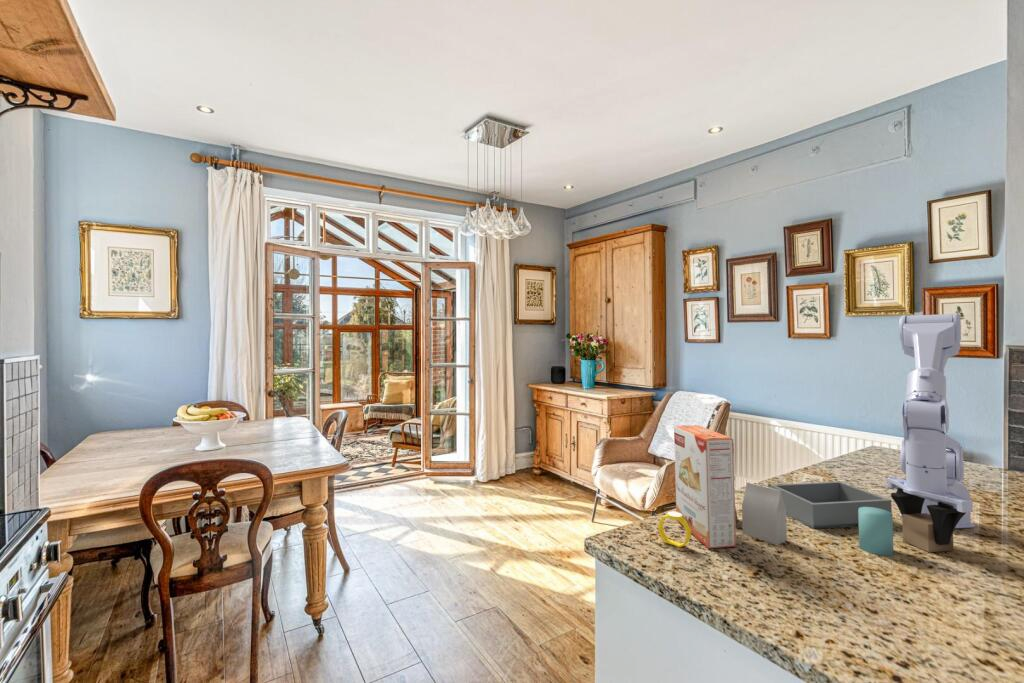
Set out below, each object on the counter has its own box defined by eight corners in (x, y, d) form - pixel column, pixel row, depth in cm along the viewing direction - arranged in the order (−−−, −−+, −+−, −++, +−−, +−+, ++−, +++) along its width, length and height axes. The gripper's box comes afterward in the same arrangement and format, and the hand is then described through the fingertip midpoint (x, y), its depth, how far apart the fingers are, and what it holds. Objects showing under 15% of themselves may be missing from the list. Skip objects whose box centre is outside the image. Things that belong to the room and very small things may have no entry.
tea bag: (776, 545, 89) (775, 492, 89) (742, 533, 95) (741, 484, 95) (786, 540, 91) (785, 489, 91) (752, 529, 97) (751, 480, 97)
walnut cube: (926, 539, 90) (926, 513, 90) (953, 550, 85) (952, 522, 85) (902, 540, 90) (902, 514, 90) (928, 552, 85) (927, 524, 85)
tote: (840, 502, 111) (839, 481, 111) (891, 524, 98) (891, 500, 98) (770, 506, 110) (770, 484, 110) (813, 528, 96) (812, 504, 96)
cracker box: (674, 521, 101) (672, 425, 102) (701, 520, 102) (699, 424, 102) (706, 549, 88) (704, 438, 88) (737, 548, 88) (735, 436, 88)
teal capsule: (876, 543, 89) (875, 506, 89) (900, 554, 84) (899, 515, 84) (852, 544, 89) (851, 507, 89) (875, 556, 84) (874, 517, 84)
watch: (656, 542, 91) (655, 511, 91) (662, 538, 93) (662, 508, 93) (686, 551, 87) (686, 519, 87) (692, 546, 89) (692, 515, 89)
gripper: (872, 456, 94) (874, 523, 94) (945, 476, 80) (947, 556, 80) (904, 455, 95) (905, 522, 95) (982, 474, 81) (984, 553, 81)
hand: (927, 537), depth 88 cm, fingers closed on walnut cube, 5 cm apart
